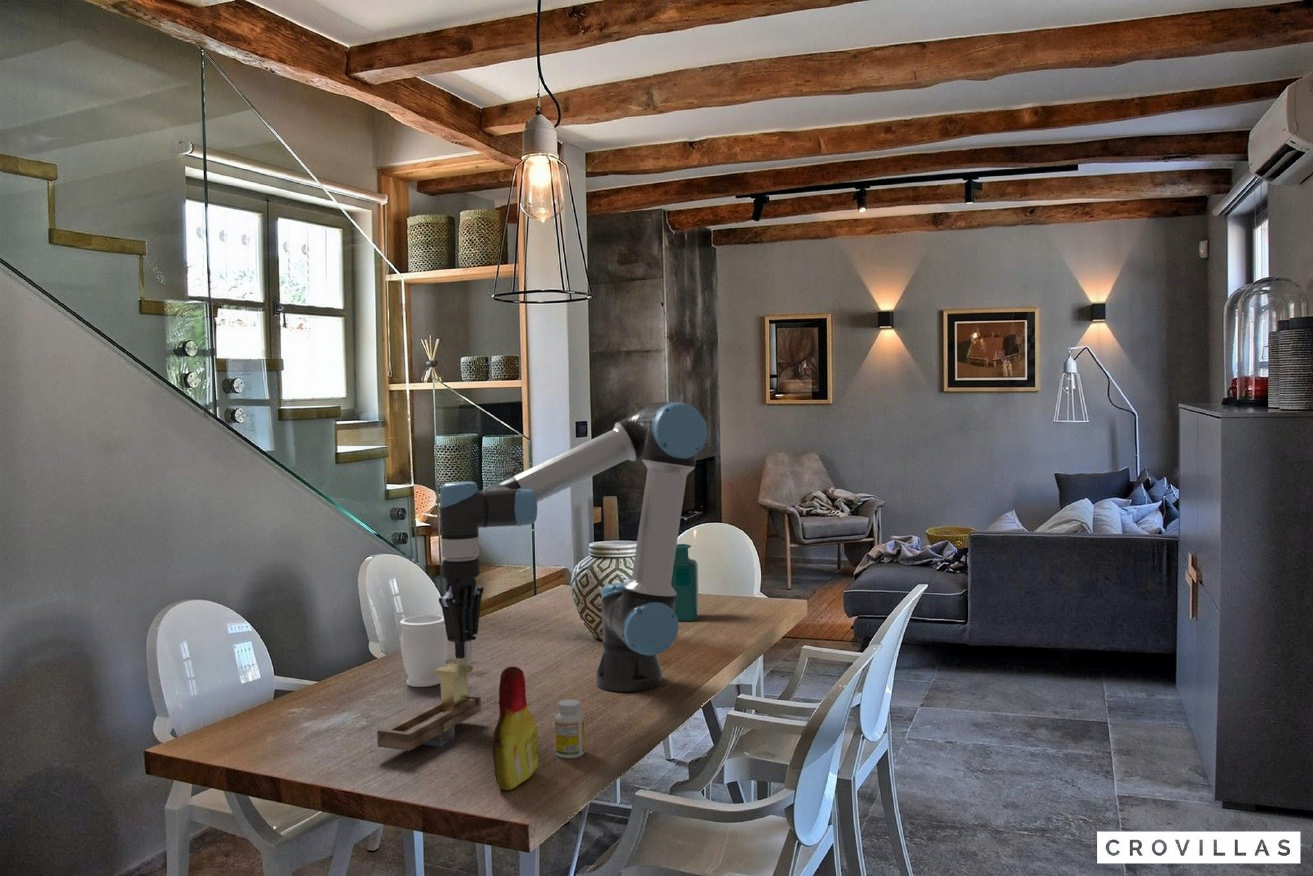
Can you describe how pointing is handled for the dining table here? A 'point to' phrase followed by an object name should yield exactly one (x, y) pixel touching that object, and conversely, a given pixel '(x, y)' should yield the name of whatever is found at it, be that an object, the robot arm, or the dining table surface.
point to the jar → (423, 648)
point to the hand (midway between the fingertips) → (464, 672)
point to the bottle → (514, 733)
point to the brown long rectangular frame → (428, 726)
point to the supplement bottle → (569, 730)
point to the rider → (453, 684)
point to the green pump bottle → (685, 585)
